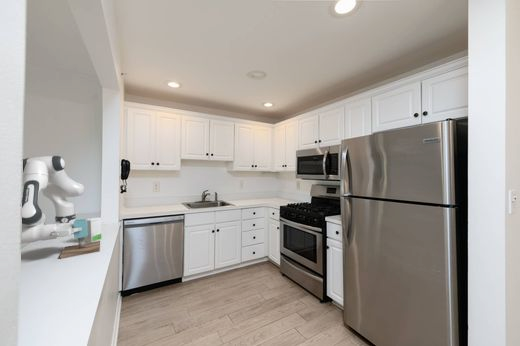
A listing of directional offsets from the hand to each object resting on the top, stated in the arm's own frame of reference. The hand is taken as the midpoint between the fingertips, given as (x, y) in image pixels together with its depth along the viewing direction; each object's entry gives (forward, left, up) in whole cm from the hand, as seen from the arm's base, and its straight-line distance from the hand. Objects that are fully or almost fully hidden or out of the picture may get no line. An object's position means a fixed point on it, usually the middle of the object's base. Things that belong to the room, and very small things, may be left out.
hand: (82, 227), depth 138 cm
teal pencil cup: (0, -1, -5) cm, 6 cm away
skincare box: (-17, +4, -14) cm, 23 cm away
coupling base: (0, -1, -14) cm, 14 cm away
